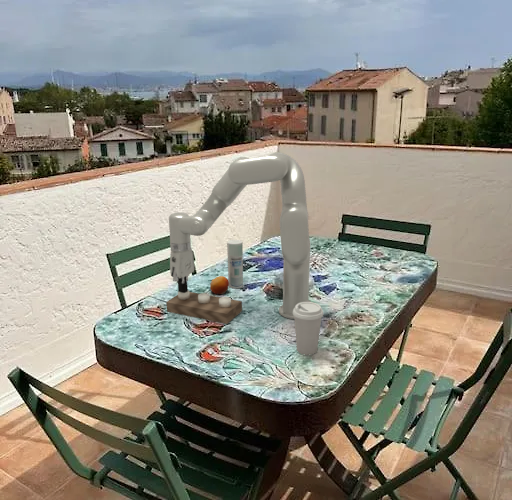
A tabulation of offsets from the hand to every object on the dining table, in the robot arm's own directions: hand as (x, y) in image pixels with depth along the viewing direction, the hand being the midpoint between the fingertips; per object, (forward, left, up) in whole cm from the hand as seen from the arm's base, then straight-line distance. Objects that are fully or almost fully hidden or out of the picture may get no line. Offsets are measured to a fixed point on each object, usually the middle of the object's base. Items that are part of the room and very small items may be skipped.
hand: (183, 291), depth 175 cm
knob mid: (-9, 0, -5) cm, 11 cm away
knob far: (0, 0, -5) cm, 5 cm away
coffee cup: (-54, +12, -7) cm, 56 cm away
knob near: (-18, 0, -5) cm, 19 cm away
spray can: (-8, -28, -7) cm, 30 cm away
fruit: (-5, -19, -7) cm, 21 cm away
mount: (-9, 0, -7) cm, 11 cm away
